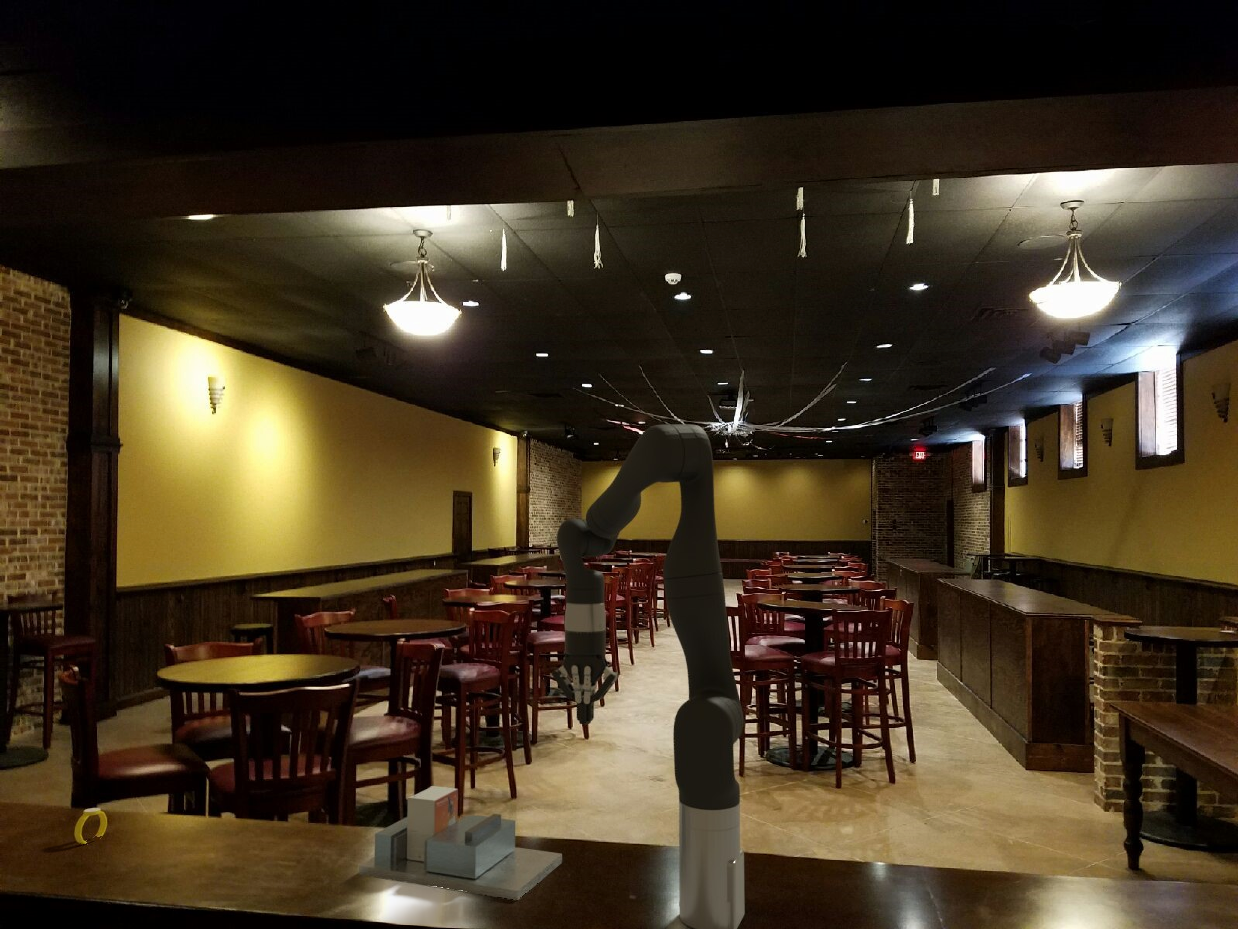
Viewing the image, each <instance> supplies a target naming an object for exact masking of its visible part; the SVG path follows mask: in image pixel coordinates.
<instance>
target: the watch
mask: <svg viewBox="0 0 1238 929" xmlns="http://www.w3.org/2000/svg"><path fill="white" fill-rule="evenodd" d="M96 815H97V816H98V817H99V819H100V820H99V828H98V830H97V833H96V834H95V835H94V837H95V836H97V837H100V836H102V837H103V836H104V834H105V832H106V830H107V828H108V827H107V826H108V818H107V816H106V813H105V812H104V811H102V810H101V807H92V808H87V809H86V808H85V810H83V814H82V815H81V816H80V817H79V819H78V821H77V822H76V824H75V827H74V838H75V841H76V843H78V844H80V843H81V844H80V845H83V844H86V843H87V842H86V841H87V840H84V838H83V836H82V831H83V826H84V824H85V822H86V821H87V819H88V818H89V817H90V816H96Z"/></svg>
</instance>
